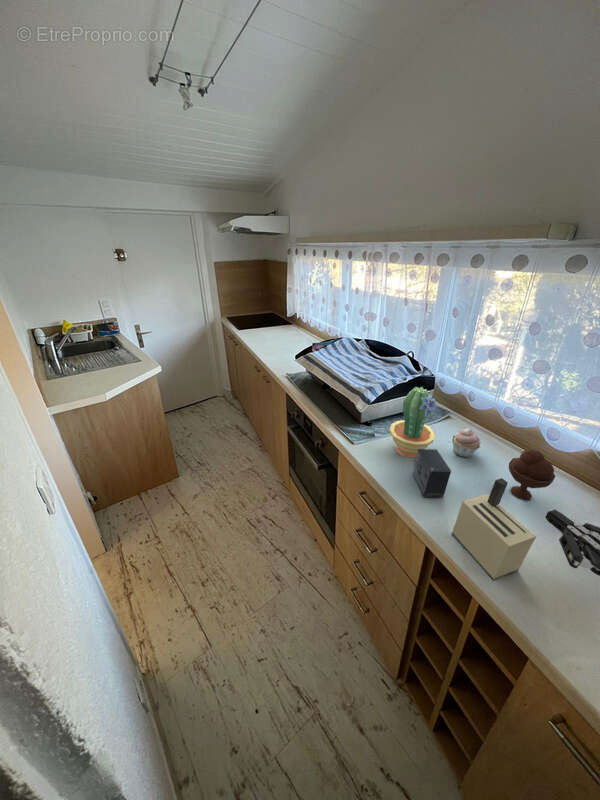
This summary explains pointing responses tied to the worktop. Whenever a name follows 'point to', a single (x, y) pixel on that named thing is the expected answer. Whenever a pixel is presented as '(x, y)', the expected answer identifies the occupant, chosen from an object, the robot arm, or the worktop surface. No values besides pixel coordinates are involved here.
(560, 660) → the worktop surface
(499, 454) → the worktop surface
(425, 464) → the small box
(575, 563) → the robot arm
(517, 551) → the toaster
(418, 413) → the potted cactus
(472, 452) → the cupcake
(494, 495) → the slider
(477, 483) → the worktop surface
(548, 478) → the ice cream bowl
